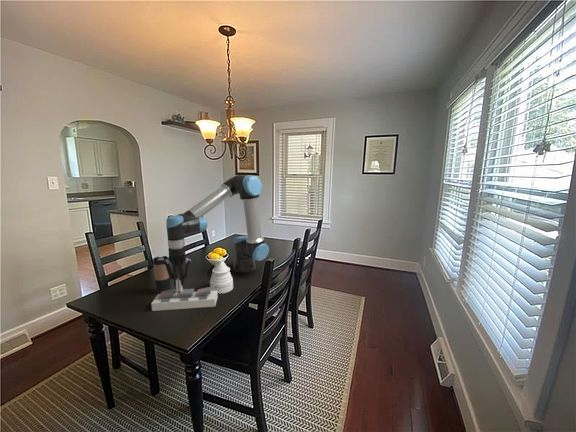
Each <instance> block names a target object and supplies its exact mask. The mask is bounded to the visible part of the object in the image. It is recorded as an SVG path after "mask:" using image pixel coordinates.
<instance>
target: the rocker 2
mask: <svg viewBox="0 0 576 432" xmlns="http://www.w3.org/2000/svg"><path fill="white" fill-rule="evenodd" d="M211 291H212V287H210V286H209V287H208V286H207V287H203V288H198V289H197V291H196V292H197V293H196V297H199V296H203V295H207V294H210V293H211Z"/></svg>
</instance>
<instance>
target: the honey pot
mask: <svg viewBox="0 0 576 432" xmlns="http://www.w3.org/2000/svg"><path fill="white" fill-rule="evenodd" d="M230 271H231V268H230V267H229V266H227V264H226V263H225V262H224V261H223V259H217V262H216V264H215V266H214V268H212V271H211V272H212V273H211V277H210V280H209V287H212V291H217V295H219V294H220V295H221V293H222V294H226V293H229V292H231V291H232V290H233V289H234V279H233V276H232V274H231V272H230ZM218 293H219V294H218Z"/></svg>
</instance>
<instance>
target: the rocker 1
mask: <svg viewBox="0 0 576 432" xmlns="http://www.w3.org/2000/svg"><path fill="white" fill-rule="evenodd" d="M175 293H177V290H176V288H173V289H172V288H171V290H167V291H163V292H161V294H160V295H159V296H158V297H159V299H163V298H168V297H172V296H174V295H175Z"/></svg>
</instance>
